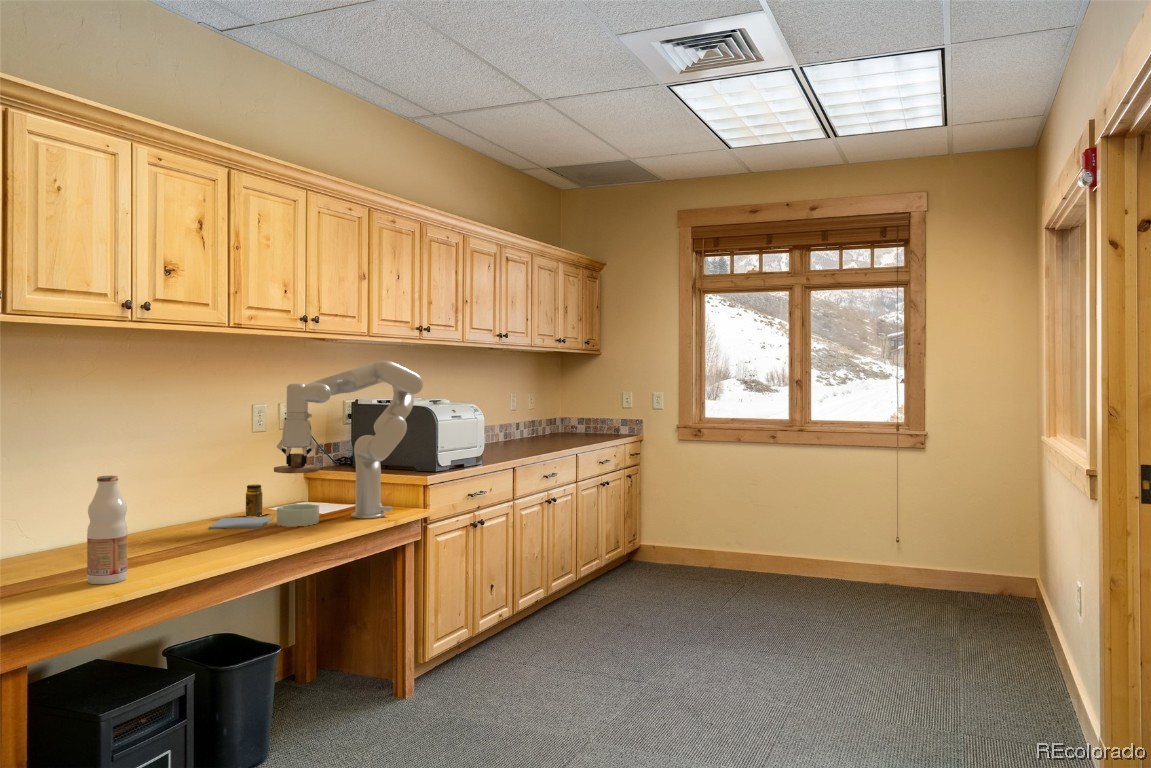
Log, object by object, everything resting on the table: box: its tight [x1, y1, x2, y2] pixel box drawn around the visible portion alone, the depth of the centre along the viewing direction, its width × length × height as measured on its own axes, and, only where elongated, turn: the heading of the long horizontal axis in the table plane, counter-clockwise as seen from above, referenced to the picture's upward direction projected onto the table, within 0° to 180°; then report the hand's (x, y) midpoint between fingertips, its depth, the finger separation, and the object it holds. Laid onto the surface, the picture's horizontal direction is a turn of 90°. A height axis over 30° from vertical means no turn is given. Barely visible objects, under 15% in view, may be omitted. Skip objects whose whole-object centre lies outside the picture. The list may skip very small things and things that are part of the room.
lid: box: [273, 452, 320, 474], centre depth 308 cm, size 16×16×6 cm
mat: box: [208, 516, 273, 530], centre depth 305 cm, size 18×18×1 cm
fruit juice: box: [86, 475, 128, 585], centre depth 223 cm, size 9×9×28 cm
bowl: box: [276, 503, 320, 528], centre depth 308 cm, size 14×14×6 cm
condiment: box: [245, 484, 263, 516], centre depth 323 cm, size 7×8×12 cm
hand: (296, 465), depth 308 cm, fingers closed on lid, 4 cm apart
